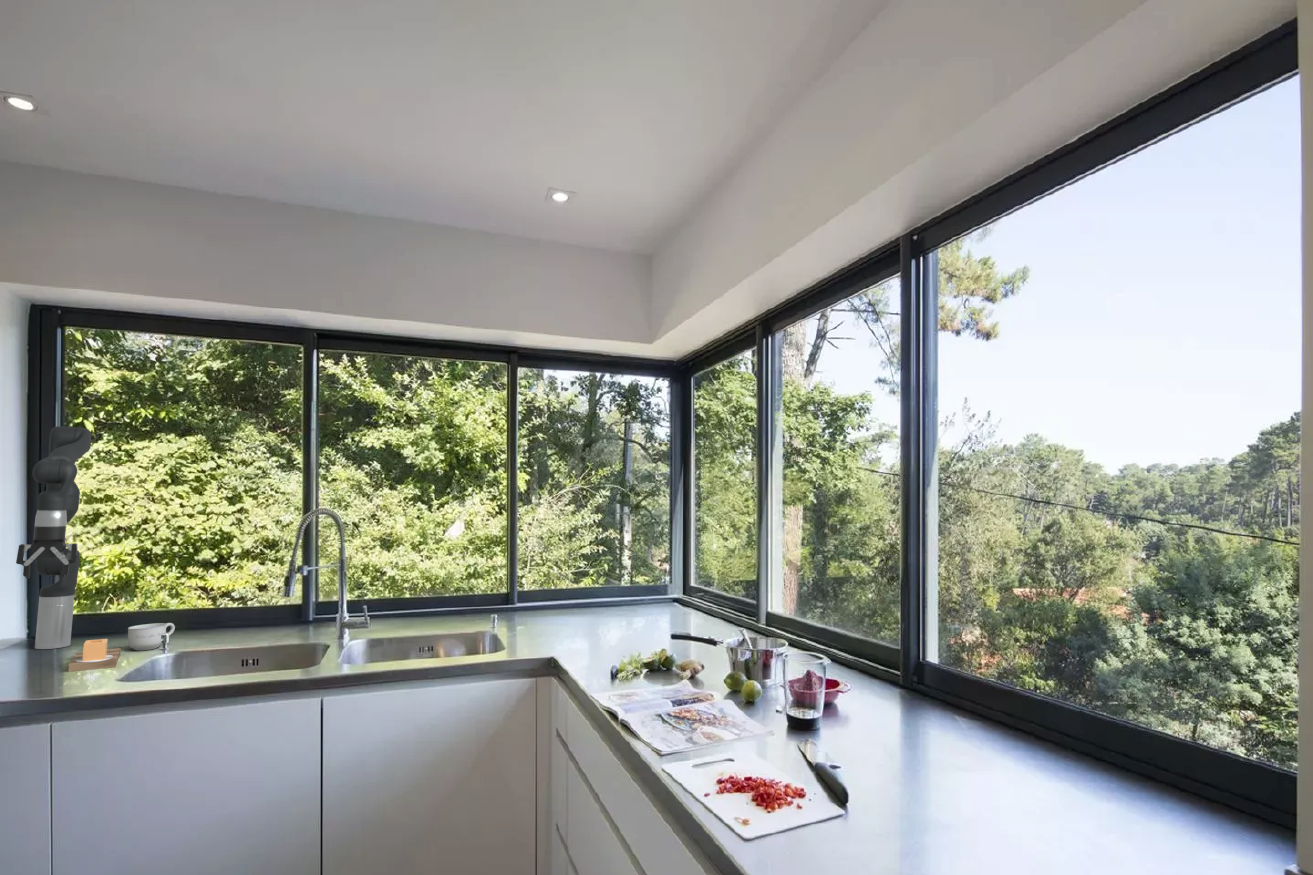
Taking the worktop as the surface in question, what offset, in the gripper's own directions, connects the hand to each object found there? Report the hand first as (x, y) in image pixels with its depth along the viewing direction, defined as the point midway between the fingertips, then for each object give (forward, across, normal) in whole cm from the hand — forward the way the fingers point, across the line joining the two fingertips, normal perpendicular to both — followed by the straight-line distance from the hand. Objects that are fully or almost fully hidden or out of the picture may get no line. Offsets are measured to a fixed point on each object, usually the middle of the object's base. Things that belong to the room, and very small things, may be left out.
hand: (45, 577), depth 218 cm
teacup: (+26, +28, +10) cm, 40 cm away
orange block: (+24, +14, -12) cm, 30 cm away
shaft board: (+26, +14, -7) cm, 31 cm away
